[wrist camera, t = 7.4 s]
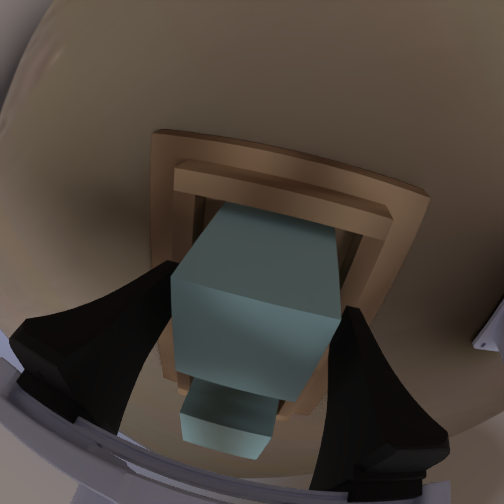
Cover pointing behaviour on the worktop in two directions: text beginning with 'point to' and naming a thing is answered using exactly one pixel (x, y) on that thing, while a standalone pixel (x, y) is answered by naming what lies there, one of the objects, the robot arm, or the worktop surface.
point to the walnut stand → (288, 203)
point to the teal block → (256, 301)
